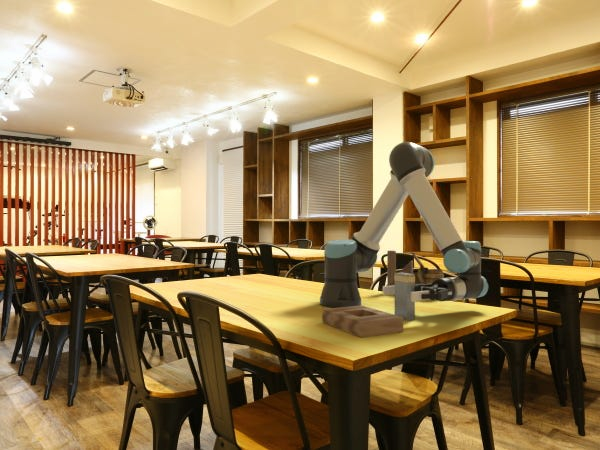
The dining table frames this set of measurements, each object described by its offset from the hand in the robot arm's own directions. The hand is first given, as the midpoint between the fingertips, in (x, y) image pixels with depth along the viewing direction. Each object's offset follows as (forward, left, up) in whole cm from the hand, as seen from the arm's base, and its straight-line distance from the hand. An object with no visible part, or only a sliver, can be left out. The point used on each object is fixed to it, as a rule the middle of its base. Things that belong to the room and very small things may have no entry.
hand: (396, 293), depth 141 cm
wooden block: (-27, +47, -8) cm, 55 cm away
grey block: (+1, +3, -8) cm, 9 cm away
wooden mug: (-13, +46, -8) cm, 48 cm away
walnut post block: (-2, -16, -8) cm, 18 cm away
